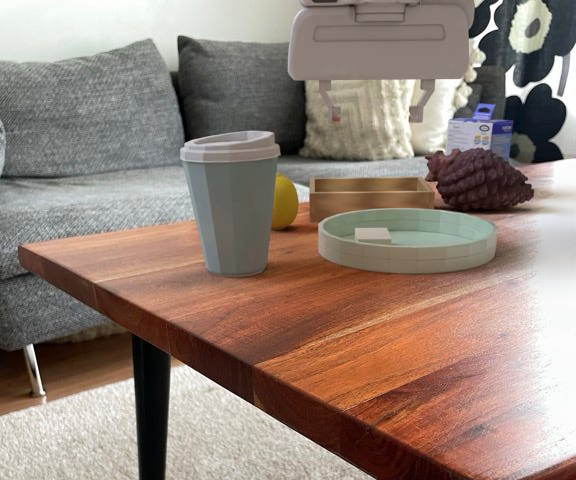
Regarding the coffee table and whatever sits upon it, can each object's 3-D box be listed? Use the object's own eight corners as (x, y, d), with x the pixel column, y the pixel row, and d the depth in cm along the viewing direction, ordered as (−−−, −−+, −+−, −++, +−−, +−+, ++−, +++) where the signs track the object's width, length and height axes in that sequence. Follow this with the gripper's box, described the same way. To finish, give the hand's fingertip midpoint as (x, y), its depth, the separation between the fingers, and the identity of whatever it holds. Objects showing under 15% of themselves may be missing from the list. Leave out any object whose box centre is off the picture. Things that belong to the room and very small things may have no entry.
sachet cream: (386, 243, 90) (387, 227, 90) (391, 255, 85) (391, 238, 84) (354, 243, 91) (355, 227, 90) (357, 255, 85) (357, 239, 84)
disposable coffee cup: (216, 293, 75) (207, 142, 68) (172, 270, 83) (160, 133, 77) (301, 276, 80) (299, 133, 74) (251, 256, 88) (246, 126, 82)
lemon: (307, 232, 99) (306, 172, 96) (278, 239, 96) (276, 177, 93) (279, 226, 103) (278, 168, 100) (250, 233, 100) (248, 173, 96)
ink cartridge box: (507, 197, 121) (517, 104, 115) (485, 201, 118) (494, 106, 112) (461, 189, 128) (469, 102, 122) (440, 193, 125) (446, 103, 119)
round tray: (474, 233, 97) (477, 207, 96) (514, 278, 78) (518, 246, 76) (317, 234, 98) (317, 208, 97) (318, 279, 79) (318, 248, 77)
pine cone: (523, 201, 117) (550, 151, 108) (517, 242, 111) (545, 194, 103) (418, 170, 118) (437, 118, 109) (407, 210, 112) (426, 159, 104)
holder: (420, 206, 115) (421, 176, 113) (432, 224, 102) (435, 191, 101) (309, 207, 115) (309, 177, 114) (309, 225, 103) (309, 193, 101)
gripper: (471, -12, 80) (460, 119, 86) (288, -9, 81) (289, 120, 87) (482, -17, 75) (469, 124, 81) (285, -14, 76) (287, 125, 81)
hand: (374, 122), depth 84 cm, fingers open, 8 cm apart
